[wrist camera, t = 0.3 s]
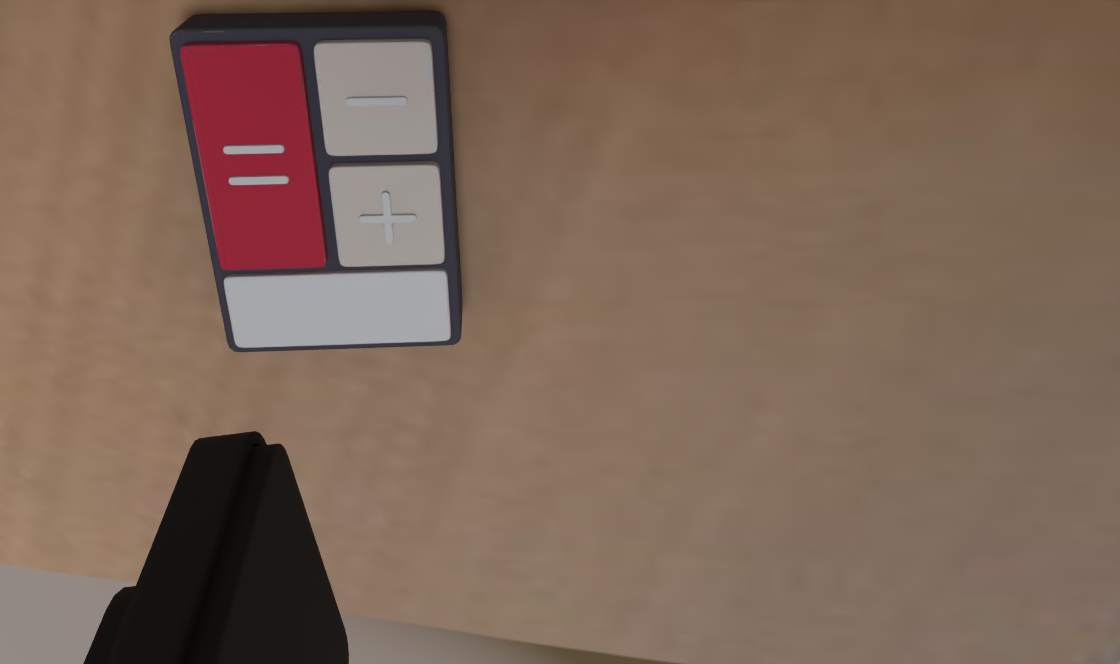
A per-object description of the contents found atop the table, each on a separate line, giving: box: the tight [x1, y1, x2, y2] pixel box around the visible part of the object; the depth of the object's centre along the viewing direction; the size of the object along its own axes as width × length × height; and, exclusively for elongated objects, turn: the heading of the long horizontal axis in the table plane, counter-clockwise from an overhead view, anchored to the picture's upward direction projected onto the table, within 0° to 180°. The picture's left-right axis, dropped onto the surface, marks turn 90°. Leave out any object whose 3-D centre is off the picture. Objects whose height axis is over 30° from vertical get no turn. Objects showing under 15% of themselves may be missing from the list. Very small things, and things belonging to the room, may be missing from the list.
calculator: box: [170, 12, 462, 352], centre depth 45 cm, size 11×4×15 cm
